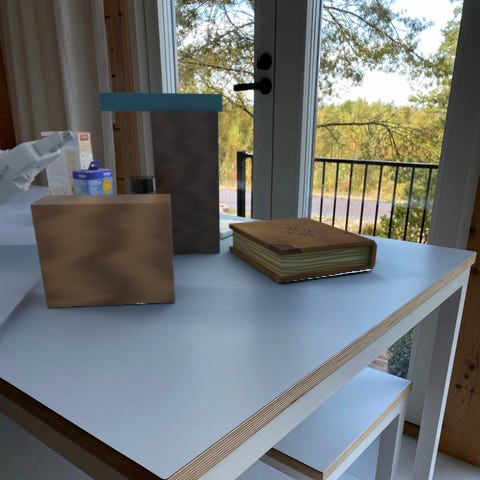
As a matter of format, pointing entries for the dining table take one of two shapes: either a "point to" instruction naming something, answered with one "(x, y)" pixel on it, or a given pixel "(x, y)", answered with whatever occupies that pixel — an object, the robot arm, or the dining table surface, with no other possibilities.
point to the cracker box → (68, 163)
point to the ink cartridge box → (93, 180)
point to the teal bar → (160, 102)
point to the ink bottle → (141, 185)
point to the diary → (301, 248)
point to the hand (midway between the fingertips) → (66, 134)
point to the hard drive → (226, 228)
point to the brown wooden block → (105, 249)
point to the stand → (189, 176)
